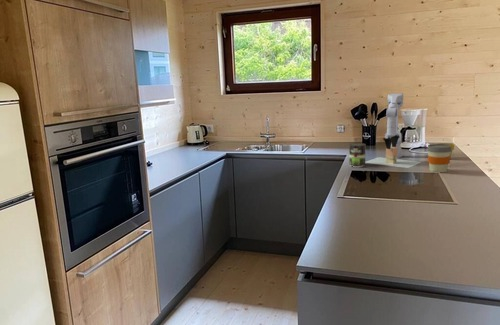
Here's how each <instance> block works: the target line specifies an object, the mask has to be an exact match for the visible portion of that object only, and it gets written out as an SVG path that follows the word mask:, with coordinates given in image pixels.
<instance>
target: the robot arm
mask: <svg viewBox="0 0 500 325" xmlns="http://www.w3.org/2000/svg"><path fill="white" fill-rule="evenodd" d="M387 105H388V107H387V109H386V113H385V114H386V133H385V134H384V137H383V141H384V144H385V149H386V148H387V149H390V148H391V147H397V159H399V158H401V157H403V155H402V146H401V145H402V142H403V139H402V138H403V137H402V132H400V131H399V111H400V108H401V107H403V105H404V93H388V95H387Z"/></svg>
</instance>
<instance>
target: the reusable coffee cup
mask: <svg viewBox="0 0 500 325" xmlns="http://www.w3.org/2000/svg"><path fill="white" fill-rule="evenodd" d="M450 153H451V146H450V145H446V144H438V143H435V144H434V143H431V144H428V146H427V162H428V165H429V171H431V172H432V173H435V172H445V173H447V171H448V167H449V164H450V161H451V156H452V155H451V156H450Z"/></svg>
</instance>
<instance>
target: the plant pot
mask: <svg viewBox="0 0 500 325" xmlns="http://www.w3.org/2000/svg"><path fill="white" fill-rule="evenodd" d="M437 144H446V145H450V146H451V153H450V156H452V153H453V151H454V149H455V144H454V143H449V142H444V143H443V142H442V143H441V142H439V143H437Z"/></svg>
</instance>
